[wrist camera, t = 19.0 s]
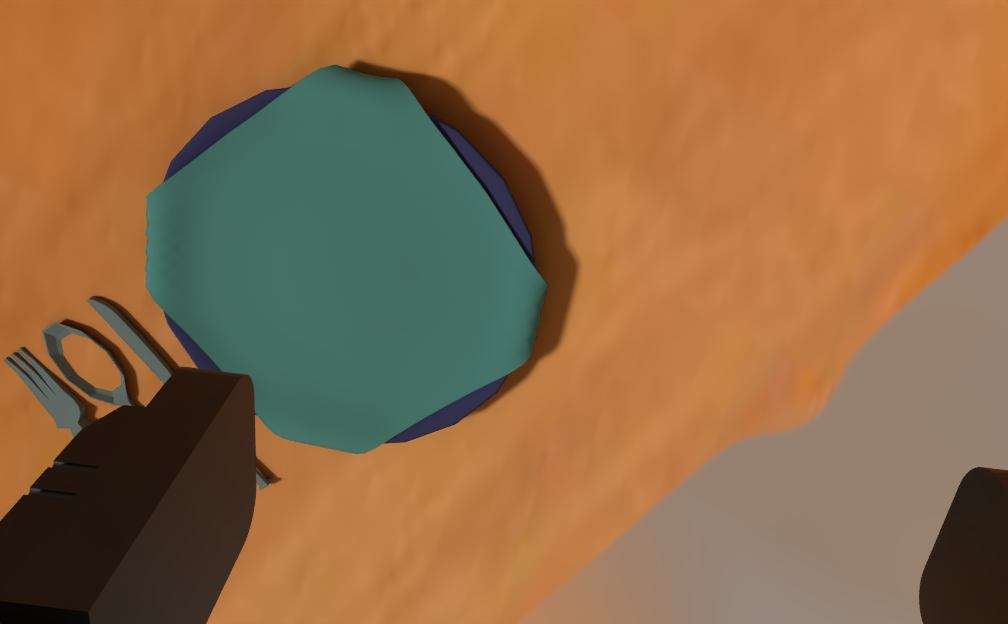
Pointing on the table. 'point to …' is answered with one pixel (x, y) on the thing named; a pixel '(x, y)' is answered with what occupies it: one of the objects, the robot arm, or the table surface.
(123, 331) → the teal flat piece
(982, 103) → the table surface
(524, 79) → the table surface
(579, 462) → the table surface
